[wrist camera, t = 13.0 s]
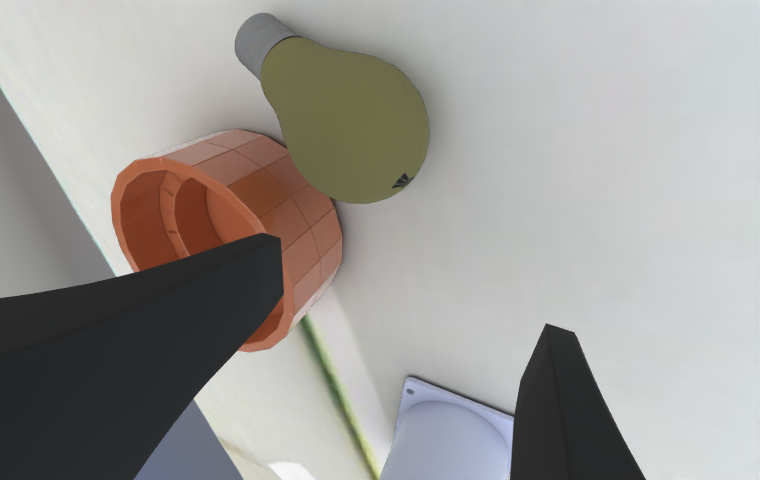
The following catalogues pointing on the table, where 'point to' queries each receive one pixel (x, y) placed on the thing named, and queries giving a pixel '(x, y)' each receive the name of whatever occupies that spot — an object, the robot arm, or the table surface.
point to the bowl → (230, 215)
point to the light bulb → (338, 112)
